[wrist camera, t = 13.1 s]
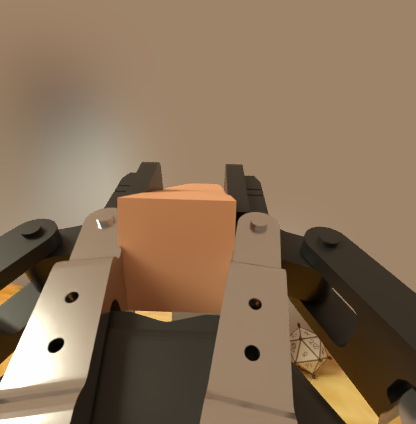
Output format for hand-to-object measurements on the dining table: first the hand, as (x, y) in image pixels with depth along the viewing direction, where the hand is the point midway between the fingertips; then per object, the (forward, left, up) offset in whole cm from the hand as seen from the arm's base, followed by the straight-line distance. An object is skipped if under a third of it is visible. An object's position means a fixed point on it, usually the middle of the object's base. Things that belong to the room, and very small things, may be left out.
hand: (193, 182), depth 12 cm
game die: (+20, +36, -36) cm, 55 cm away
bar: (0, +6, -3) cm, 7 cm away
